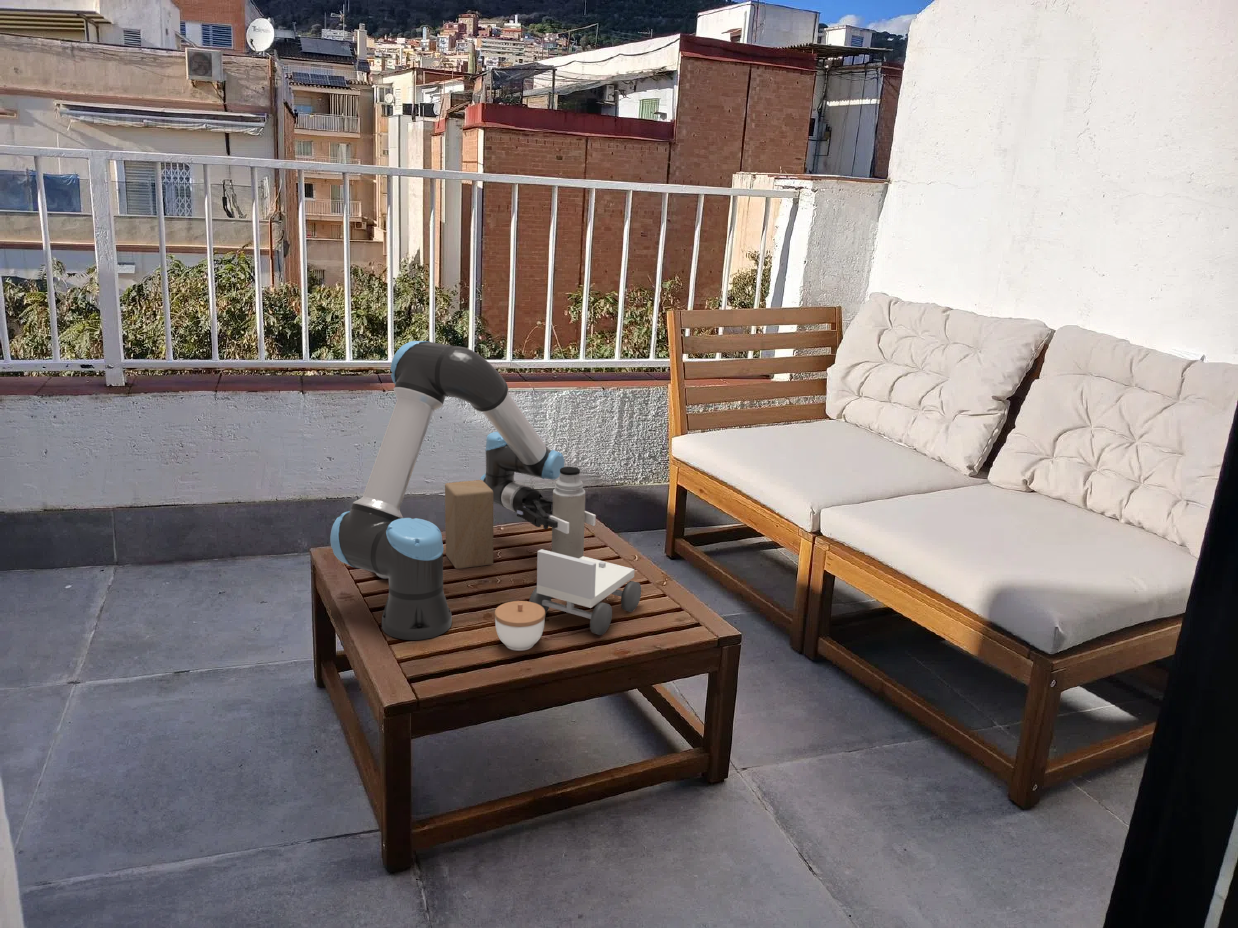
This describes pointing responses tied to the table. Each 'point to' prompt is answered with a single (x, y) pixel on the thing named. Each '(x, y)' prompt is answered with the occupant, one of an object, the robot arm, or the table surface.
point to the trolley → (583, 586)
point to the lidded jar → (519, 624)
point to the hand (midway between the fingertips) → (581, 524)
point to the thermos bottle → (569, 513)
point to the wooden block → (469, 523)
